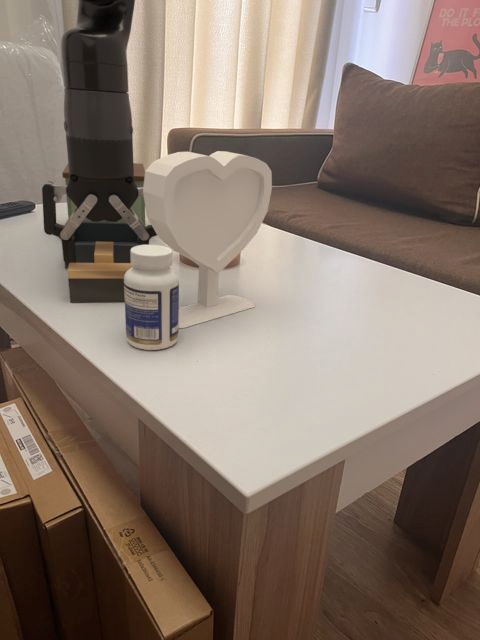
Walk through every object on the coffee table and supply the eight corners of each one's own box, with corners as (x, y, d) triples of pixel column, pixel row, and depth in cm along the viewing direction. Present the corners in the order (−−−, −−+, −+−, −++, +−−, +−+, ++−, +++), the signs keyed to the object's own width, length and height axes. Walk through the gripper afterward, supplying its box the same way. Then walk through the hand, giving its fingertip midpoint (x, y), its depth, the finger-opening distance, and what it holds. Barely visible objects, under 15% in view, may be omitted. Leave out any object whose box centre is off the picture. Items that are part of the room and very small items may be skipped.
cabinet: (68, 242, 85) (62, 172, 80) (74, 220, 97) (69, 159, 93) (147, 243, 88) (146, 176, 83) (143, 222, 101) (142, 163, 96)
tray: (65, 268, 73) (63, 244, 72) (72, 243, 84) (70, 221, 83) (147, 269, 76) (146, 245, 74) (143, 244, 87) (143, 223, 86)
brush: (75, 277, 70) (72, 241, 68) (136, 277, 72) (135, 242, 70) (70, 302, 62) (66, 262, 60) (139, 301, 64) (138, 262, 62)
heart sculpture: (167, 332, 57) (168, 158, 49) (141, 317, 60) (137, 151, 52) (266, 303, 67) (279, 155, 60) (239, 291, 70) (248, 149, 63)
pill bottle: (160, 325, 58) (159, 239, 54) (188, 343, 55) (190, 253, 51) (116, 337, 55) (112, 246, 51) (143, 356, 52) (141, 260, 47)
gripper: (158, 134, 66) (160, 258, 74) (38, 127, 63) (52, 258, 70) (163, 140, 60) (165, 275, 67) (29, 132, 56) (46, 276, 64)
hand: (107, 266), depth 69 cm, fingers open, 8 cm apart
